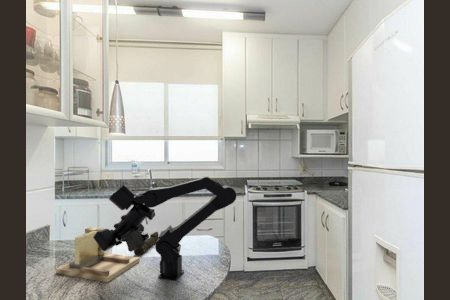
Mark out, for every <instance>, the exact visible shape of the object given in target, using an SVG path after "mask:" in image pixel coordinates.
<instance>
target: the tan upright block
mask: <svg viewBox="0 0 450 300" xmlns="http://www.w3.org/2000/svg"><path fill="white" fill-rule="evenodd" d="M96 232H98V231H92V232H89V233H86V234H85V233H84V234H81V235H78V236H75V238H74V239H75V240H74V260H75V261H74V260H72V261H70V262H68V263H69V267H70V268H76V269H80V268H81V267H87V268H89V267H91V266H93V265H95V264H97V263H99V262H101V261H103V256H98V249H101V248H100V246H99V245H98V243H97V242H96V241H95V239H94V238H93V237H94V235H95V234H96Z"/></svg>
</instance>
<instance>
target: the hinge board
mask: <svg viewBox="0 0 450 300" xmlns="http://www.w3.org/2000/svg"><path fill="white" fill-rule="evenodd" d="M103 229H104V228H102V227H101V228H97V227H87V228H84V234H86V233H89V232H92V231H100V230H103ZM98 256H103V261H101V262H99V263H97V264H95V265H93V266H91V267H89V268H87V267H81V268H80V269H76V268H70V267H69V263H70V262H68V263H66V264H64V265H61V266H59V267H57V268H55V273H56V274H60V275H65V276H69V277H78V278H83V279H86V280H87V279H88V280H94V281H98V282H105V283H109V282H110V281H112V280H115V278H117V277H118V276H120V275H122V274H123V273H125V272H127V270H129V269H131V268H132V267H134V266H135V265H136V264H138V263H140V260H141V257H139V256H132V255H131V256H130V255H123V254H116V253H109V252H106V251H103V250H102V249H98ZM73 261H75V259H74V260H73Z"/></svg>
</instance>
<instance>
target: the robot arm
mask: <svg viewBox="0 0 450 300" xmlns="http://www.w3.org/2000/svg"><path fill="white" fill-rule="evenodd" d="M202 190H207V192H210V193H211V194H213V196H212V197H211V198H210V200H209V201H208V202H206V203H205V204H204V205H202V206H201V207H200V208H199V209H197V210H196V211H195V212H193V213H192V214H191V215H190V216H188V217H187V218H186V219H184V220H183V222H181V223H180V224H178V225H177V226H175V227H172V225H171V224H170V225H168V227H166V228H165V229H164V230H162V231H161V232H160V233H159V234H158V240H157V242H156V244H154V245H155V246H154V247H155V251H156V253H157V254H158V255H159V256H160V260H159V274H158V275H157V277H158V278H159V279H164V280H165V279H166V280H172V281H177V279H179V278H180V276H182V274H183V273H185V270H184V269H183V255H182V254H181V247H182V245H181V243H180V242H181V241H182V240H183V238H184V237H185V236H187V235H188V234H190V233H191V232H192V231H193V230H194V229H196V228H197V227H198V226H200V224H202V223H203V222H205V220H207V219H208V218H209V217H211V216H212V215H213V214H214V213H215V212H217V211H219V210H222V209H224V208H226V207H228V206H231V205H232V204H234V203H235V201H236V200H237V193H236V190H235V189H234V188H232V187H231V185H230V186H229V185H226V184H225V185H222V184H221V183H219V182H217V181H215V180H213V179H211V178H210V177H209V176H203V177H201V178H197V179H194V180H189V181H186V182H182V183H177V184H175V185H171V186H160V187H152V188H150V189H148V190H147V191H145V192H140V193H138V194H137V193H135V192H134V191H133V190H132V189H131V188H130V187H129V186H128V185H127V184H123V185H121V187H120V188H119V189H117V190H115V191H114V192H113V193H112V194H111V196H110V197H109V199H108V200H109V201H110V202H111V203H113V205H115V206H116V207H117V208H118V209H119V210H121V211H125V210H126V211H127V213H126V214H123V215H121V216H120V219H121V220H120V221H119V222H118V223H114V225H113V227H114V229H109V228H103V230H100V231H98V232H96V234H95V235H94V237H93V238H94V239H95V241H96V242H97V243H98V245H99V246H100V248H101V249H102V250H103V251H105V252H106V251H109V250H111V249H112V248H113V247H114V246H117V247H118V246H119V245H121V244H123V242H124V243H125V242H126V246H127V250H128V251H129V252H131V253H132V252H134V250H136V249H138V248H140V247H142V246H144V245H145V243H146V242H145V241H147V239H148V238H150V236H149V235H150V234H149V233H147V232H144V231H145V226H144V225H143V224H142V223H143V222H144V221H145V220H146V219H148V220H149V221H152V220H153V219H154V218H155V217H156V212H155V209H153V208H155V207H157V206H160V205H162V204H164V203H165V202H167V201H170V200H171V199H173V198H177V197H180V196H184V195H187V194H191V193H196V192H198V191H202Z"/></svg>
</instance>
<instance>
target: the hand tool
mask: <svg viewBox="0 0 450 300" xmlns="http://www.w3.org/2000/svg"><path fill="white" fill-rule="evenodd" d="M149 235H150V236H149V238H148V239H147V241H145V242H146V243H145V245H144V246H142V247H140V248H138V249H136V250H134V251H133V254H134V255H135V256H142V255H143V254H145V252H146V250H148V249H150V247H152V246H153V245H156V242H157V240H158V237H159V231H155V232H153V233H151V234H149Z"/></svg>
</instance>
